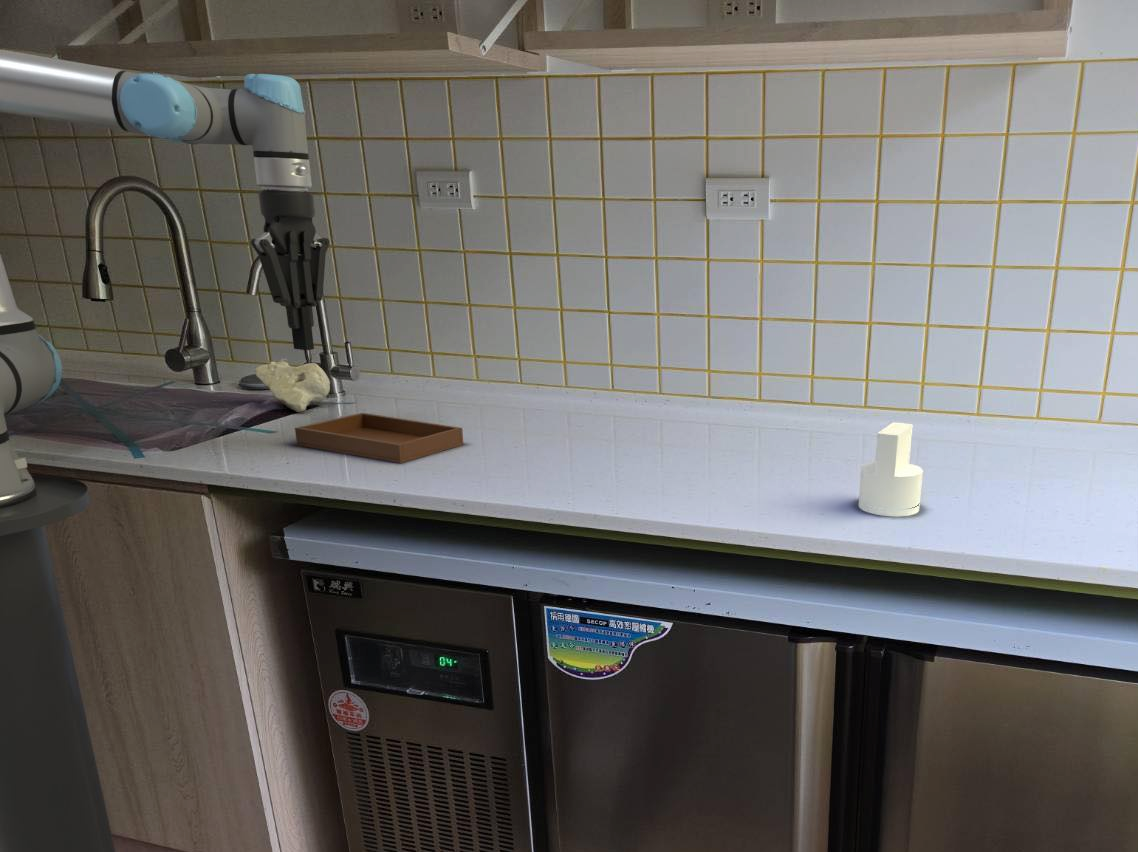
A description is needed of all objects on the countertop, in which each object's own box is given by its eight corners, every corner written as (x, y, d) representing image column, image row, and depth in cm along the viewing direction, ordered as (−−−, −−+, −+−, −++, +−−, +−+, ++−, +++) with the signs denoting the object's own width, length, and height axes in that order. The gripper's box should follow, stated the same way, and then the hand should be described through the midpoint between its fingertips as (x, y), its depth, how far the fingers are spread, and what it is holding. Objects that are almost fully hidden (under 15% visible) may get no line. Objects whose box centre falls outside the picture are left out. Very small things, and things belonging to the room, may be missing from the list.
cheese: (340, 420, 199) (341, 365, 206) (319, 399, 192) (321, 342, 200) (270, 441, 200) (274, 385, 208) (248, 420, 194) (252, 363, 201)
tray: (400, 463, 161) (398, 445, 160) (296, 445, 170) (294, 427, 169) (463, 444, 175) (462, 427, 174) (364, 428, 184) (362, 412, 183)
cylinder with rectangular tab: (910, 519, 141) (918, 438, 137) (850, 510, 144) (856, 430, 140) (925, 504, 148) (933, 426, 144) (868, 495, 152) (874, 419, 148)
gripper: (267, 189, 139) (287, 356, 147) (337, 191, 150) (353, 346, 158) (230, 187, 142) (252, 351, 150) (302, 190, 153) (318, 342, 161)
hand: (304, 348), depth 154 cm, fingers closed
